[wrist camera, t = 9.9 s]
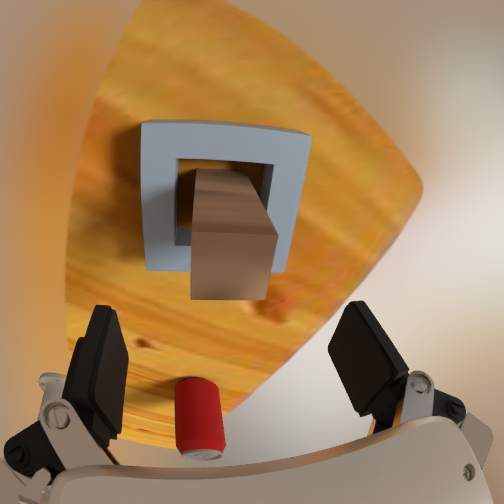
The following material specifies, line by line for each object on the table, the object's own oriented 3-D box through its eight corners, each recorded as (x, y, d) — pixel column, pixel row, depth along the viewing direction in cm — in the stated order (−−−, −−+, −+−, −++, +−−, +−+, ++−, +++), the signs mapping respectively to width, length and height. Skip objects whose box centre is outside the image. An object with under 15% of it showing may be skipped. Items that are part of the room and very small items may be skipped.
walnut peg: (239, 215, 24) (264, 300, 15) (193, 213, 23) (190, 299, 14) (245, 171, 22) (278, 235, 13) (196, 168, 21) (191, 231, 12)
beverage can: (167, 388, 37) (168, 458, 27) (188, 369, 35) (191, 448, 25) (203, 398, 40) (210, 463, 30) (226, 381, 38) (237, 453, 28)
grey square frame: (276, 254, 27) (284, 272, 24) (151, 251, 24) (146, 270, 22) (299, 130, 21) (312, 136, 18) (150, 119, 18) (141, 123, 16)
